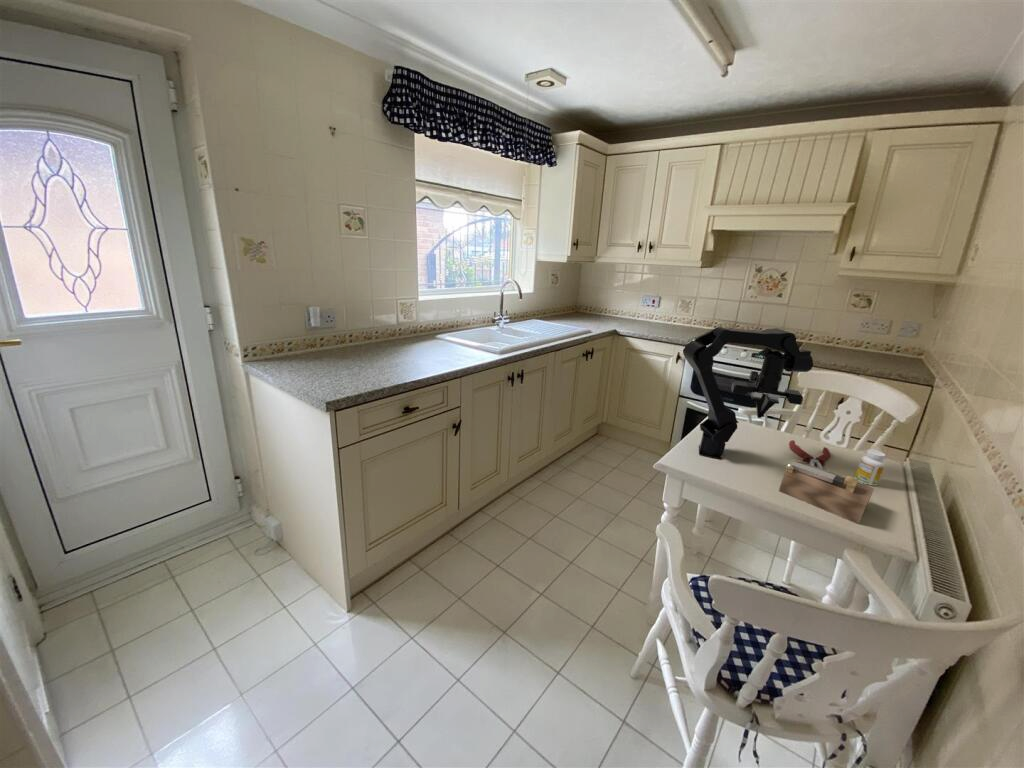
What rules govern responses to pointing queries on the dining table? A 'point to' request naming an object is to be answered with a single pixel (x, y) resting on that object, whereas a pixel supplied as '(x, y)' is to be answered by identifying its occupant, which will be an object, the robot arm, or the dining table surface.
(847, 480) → the storage box
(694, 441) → the dining table surface
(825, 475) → the latch lever
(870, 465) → the supplement bottle
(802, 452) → the pliers
